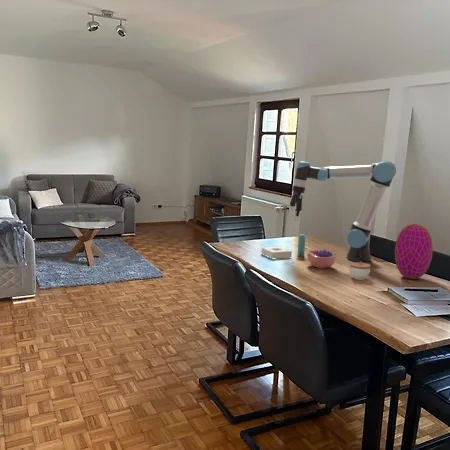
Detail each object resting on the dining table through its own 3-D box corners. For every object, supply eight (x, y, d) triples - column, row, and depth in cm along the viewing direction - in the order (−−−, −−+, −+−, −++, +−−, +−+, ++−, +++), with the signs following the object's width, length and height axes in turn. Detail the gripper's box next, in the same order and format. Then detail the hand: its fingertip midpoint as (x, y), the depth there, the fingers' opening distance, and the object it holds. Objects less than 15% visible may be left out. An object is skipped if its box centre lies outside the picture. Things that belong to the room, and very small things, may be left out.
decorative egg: (431, 277, 264) (437, 224, 260) (426, 285, 248) (432, 229, 243) (396, 271, 274) (401, 220, 269) (389, 278, 257) (394, 224, 252)
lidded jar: (358, 282, 249) (360, 264, 248) (345, 276, 259) (346, 260, 257) (373, 279, 254) (375, 263, 253) (359, 274, 263) (361, 258, 262)
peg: (305, 256, 304) (306, 235, 302) (299, 257, 302) (301, 235, 300) (301, 255, 308) (303, 234, 306) (296, 255, 306) (297, 234, 304)
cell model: (333, 263, 287) (334, 245, 285) (337, 272, 268) (339, 252, 266) (305, 262, 289) (306, 244, 287) (307, 270, 269) (309, 251, 267)
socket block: (291, 257, 299) (291, 251, 298) (272, 259, 293) (272, 252, 292) (280, 253, 311) (280, 246, 311) (261, 254, 306) (261, 247, 305)
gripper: (289, 182, 308) (283, 213, 313) (298, 188, 284) (292, 222, 289) (300, 183, 309) (294, 215, 314) (310, 189, 285) (303, 223, 290)
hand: (293, 218), depth 301 cm, fingers open, 13 cm apart
